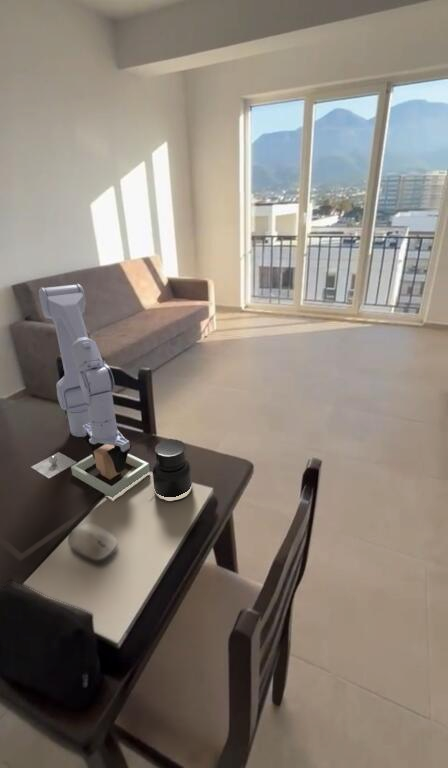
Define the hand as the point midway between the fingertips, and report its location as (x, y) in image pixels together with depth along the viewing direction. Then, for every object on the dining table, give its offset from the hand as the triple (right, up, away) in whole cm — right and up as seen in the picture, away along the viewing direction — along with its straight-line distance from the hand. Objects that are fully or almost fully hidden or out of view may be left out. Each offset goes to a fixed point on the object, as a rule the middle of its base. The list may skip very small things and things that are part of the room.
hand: (110, 465), depth 95 cm
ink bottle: (+16, -5, -3) cm, 17 cm away
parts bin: (0, -3, +1) cm, 3 cm away
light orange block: (0, -3, +1) cm, 3 cm away
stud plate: (-16, -2, +5) cm, 17 cm away
